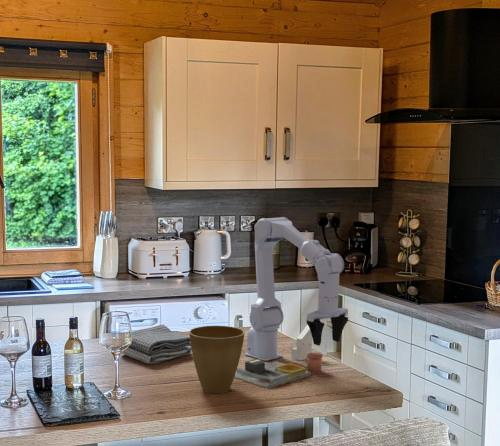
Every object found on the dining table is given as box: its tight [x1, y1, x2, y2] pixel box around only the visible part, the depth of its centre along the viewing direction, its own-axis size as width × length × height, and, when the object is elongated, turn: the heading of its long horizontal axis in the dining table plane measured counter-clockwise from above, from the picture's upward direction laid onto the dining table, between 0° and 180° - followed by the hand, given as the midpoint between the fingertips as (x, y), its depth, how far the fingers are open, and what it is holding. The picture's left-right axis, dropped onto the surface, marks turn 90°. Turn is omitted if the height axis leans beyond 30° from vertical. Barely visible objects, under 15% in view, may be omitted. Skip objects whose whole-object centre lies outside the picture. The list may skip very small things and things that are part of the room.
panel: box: [234, 360, 312, 389], centre depth 217 cm, size 14×18×2 cm
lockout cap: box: [307, 352, 324, 374], centre depth 223 cm, size 5×5×5 cm
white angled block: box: [290, 324, 313, 361], centre depth 237 cm, size 4×10×9 cm, turn 141°
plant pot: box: [188, 325, 246, 394], centre depth 204 cm, size 15×15×16 cm
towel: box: [121, 324, 192, 365], centre depth 235 cm, size 15×18×8 cm
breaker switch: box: [244, 358, 266, 374], centre depth 216 cm, size 4×4×3 cm
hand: (326, 342), depth 217 cm, fingers open, 7 cm apart
